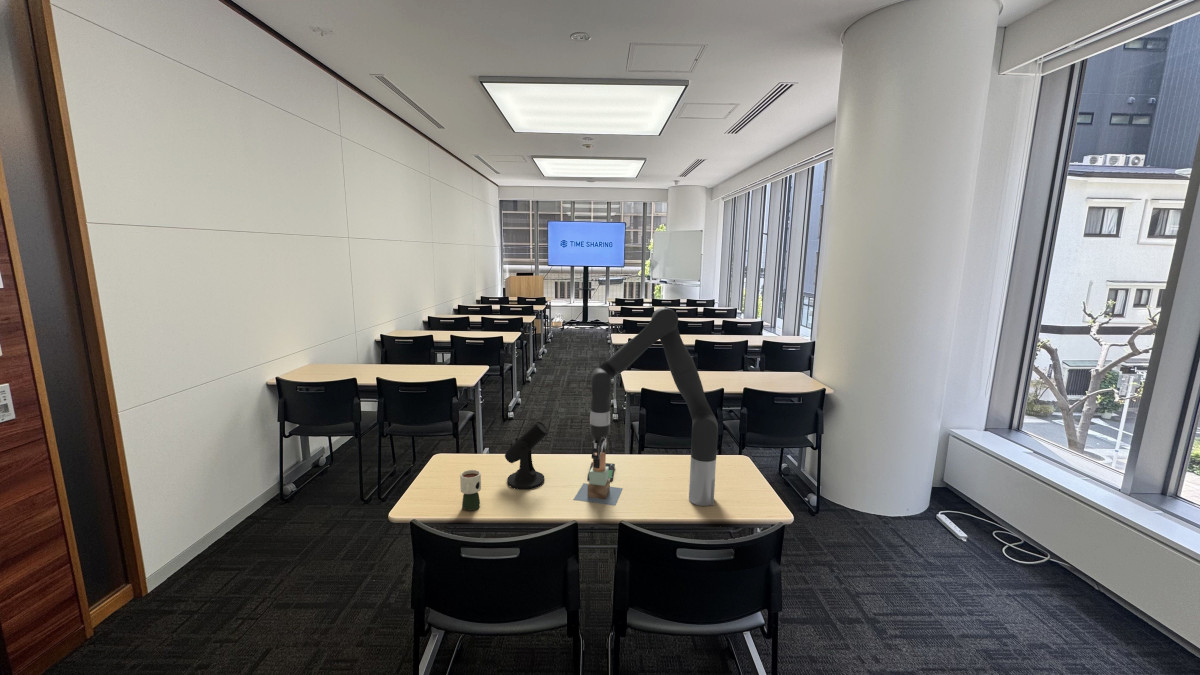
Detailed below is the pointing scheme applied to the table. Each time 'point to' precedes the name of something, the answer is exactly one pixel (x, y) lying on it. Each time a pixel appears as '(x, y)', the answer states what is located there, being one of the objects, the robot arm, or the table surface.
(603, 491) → the walnut block
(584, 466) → the table surface
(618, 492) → the slate mat
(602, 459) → the terracotta cylinder
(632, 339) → the robot arm
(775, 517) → the table surface
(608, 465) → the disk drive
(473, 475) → the character mug
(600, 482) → the sage block
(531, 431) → the microphone
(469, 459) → the table surface
